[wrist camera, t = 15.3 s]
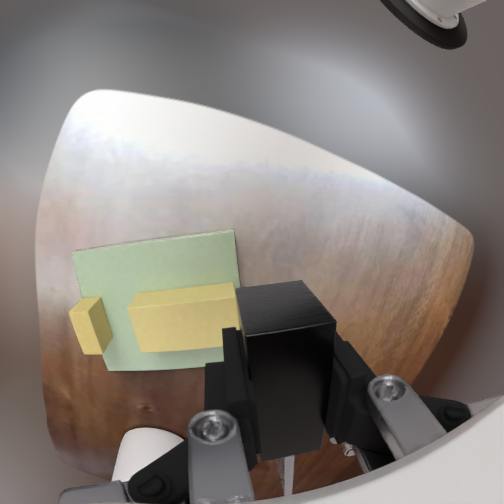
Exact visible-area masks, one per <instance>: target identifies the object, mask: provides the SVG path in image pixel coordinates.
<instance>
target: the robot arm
mask: <svg viewBox="0 0 504 504" xmlns="http://www.w3.org/2000/svg"><path fill="white" fill-rule="evenodd" d="M405 1H406V2H407V3H408V4H409V5H410V6H411V7H412V8H413V9H414V10H415V11H416V12H417V13H419V14H420V15H421V16H423V17H424V18H425V19H427V20H428V21H430V22H431V23H433V24H435V25H437V26H438V27H441V28H444V29H452V28H454V27H456V26H457V25H458V22H459V18H458V13H460V12H462V11H464V10H466V9H468V8H470V7H472V6H475V5H477V4H479V3H481V2H484V1H486V0H405ZM222 339H223V355H224V361H221V362H210V363H206V364H205V411H203V412H201V413H199V414H197V415H196V416H194V417H193V418H192V419H191V421H190V422H189V425H188V438H186V439H185V440H184V441H182V442H181V443H179V444H178V445H177V446H175V447H174V448H172V449H171V450H169V451H168V452H167V453H165V454H164V455H162V456H161V457H159V458H158V459H156V460H155V461H153V462H152V463H150V464H149V465H147V466H145V467H144V468H142V469H141V470H139V471H138V472H136V473H135V474H134V475H133V476H132V477H131V478H130V480H129V481H125V482H121V480H116V481H111V482H106V483H101V484H95V485H88V486H81V487H74V488H68V489H65V490H64V491H62V492H61V493H60V495H59V497H58V502H57V503H58V504H504V395H500V396H496V397H491V398H487V399H482V400H477V401H472V402H467V404H466V405H465V404H463V403H461V402H458V401H454V400H447V399H440V398H434V397H428V396H423V395H417V394H416V393H415V391H414V390H413V389H412V388H411V386H410V385H409V384H408V383H407V382H406V381H405V380H404V379H402V378H400V377H398V376H395V375H382V376H378V377H376V376H375V374H374V373H373V372H372V371H371V369H370V368H369V367H368V366H367V364H366V363H365V362H364V361H363V359H362V358H361V357H360V355H359V354H358V353H357V352H356V350H355V349H354V348H353V347H352V345H351V344H350V343H349V342H348V341H343V340H342V339H341V337H340V336H339V335H338V333H337V332H336V337H335V350H334V360H333V369H332V378H331V386H330V394H329V402H328V409H327V415H326V422H325V429H326V431H327V433H328V436H329V437H330V438H335V440H336V442H337V444H341V443H344V442H346V443H347V444H350V445H352V448H353V451H354V454H355V456H356V458H357V460H358V463H359V465H360V467H361V469H362V472H363V475H360V476H358V477H355V478H352V479H349V480H346V481H343V482H340V483H337V484H333V485H330V486H326V487H323V488H319V489H315V490H311V491H307V492H303V493H298V494H294V495H289V496H284V497H278V498H273V499H266V500H259V501H255V497H254V492H253V488H252V484H251V480H250V475H249V471H250V470H251V469H252V468H253V467H254V466H255V465H256V464H257V458H256V454H260V453H262V452H261V443H260V434H259V425H258V415H257V406H256V399H255V393H254V388H253V383H252V380H249V377H248V372H247V366H246V361H245V355H244V350H243V344H242V339H241V333H240V330H236V327H229V328H222Z"/></svg>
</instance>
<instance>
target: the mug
mask: <svg viewBox="0 0 504 504" xmlns="http://www.w3.org/2000/svg"><path fill="white" fill-rule="evenodd" d="M182 441H184V440H183V439H182V438H181V437H179V436H177V435H175V434H173V433H171V432H168V431H165V430H162V429H157V428H148V427H145V428H136V429H133V430H130V431H128V432H127V433H125V435H124V437H123V439H122V442H121V445H120V449H119V452H118V456H117V461H116V465H115V469H114V473H113V478H112V481H116V480H121V482H125V481H129V480H130V478H131V477H132V476H133V475H134V474H135V473H136V472H138V471H139V470H141V469H142V468H144V467H145V466H147V465H149V464H150V463H152V462H153V461H155V460H156V459H158V458H159V457H161V456H162V455H164V454H165V453H167V452H168V451H169V450H171V449H172V448H174V447H175V446H177V445H178V444H179V443H181V442H182Z"/></svg>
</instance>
